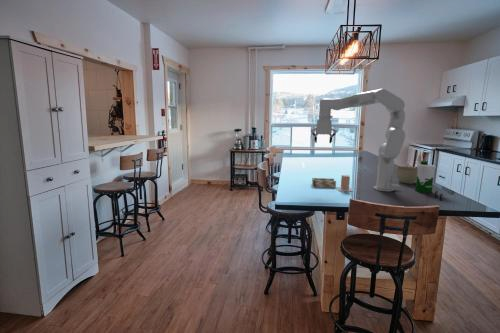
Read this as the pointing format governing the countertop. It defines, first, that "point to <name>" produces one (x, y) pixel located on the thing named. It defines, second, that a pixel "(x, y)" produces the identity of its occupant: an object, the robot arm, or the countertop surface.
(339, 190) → the tile pad
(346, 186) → the blank block
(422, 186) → the milk carton
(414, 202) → the countertop surface
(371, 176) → the countertop surface
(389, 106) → the robot arm
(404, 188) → the countertop surface
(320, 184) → the shelf bay
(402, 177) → the planter bowl
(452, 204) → the countertop surface
